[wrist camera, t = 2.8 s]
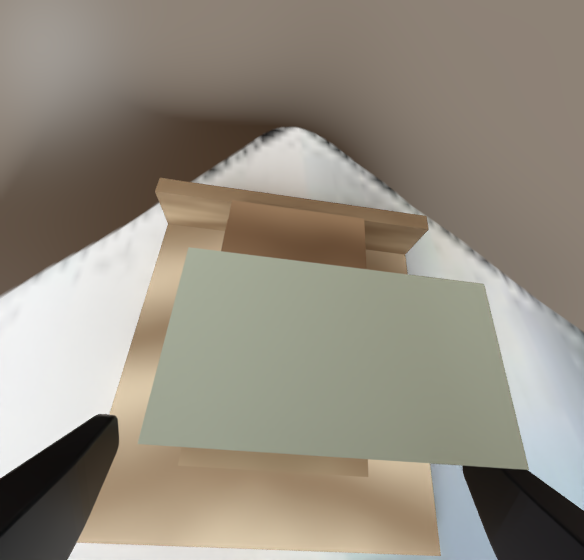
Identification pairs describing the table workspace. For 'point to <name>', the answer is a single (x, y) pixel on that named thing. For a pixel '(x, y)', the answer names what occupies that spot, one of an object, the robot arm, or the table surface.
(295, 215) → the offcut upper
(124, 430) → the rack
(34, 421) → the table surface
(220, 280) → the tall block
